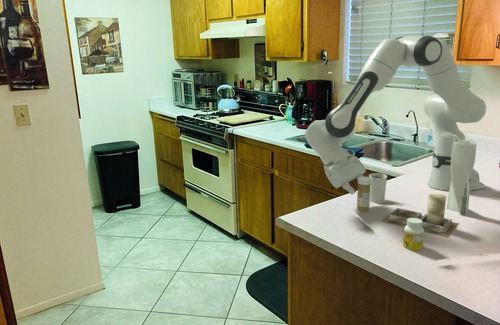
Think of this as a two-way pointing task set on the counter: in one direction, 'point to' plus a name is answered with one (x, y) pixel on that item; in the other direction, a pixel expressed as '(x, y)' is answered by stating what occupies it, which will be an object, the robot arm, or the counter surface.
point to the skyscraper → (461, 174)
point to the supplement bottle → (413, 235)
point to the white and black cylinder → (377, 187)
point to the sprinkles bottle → (363, 194)
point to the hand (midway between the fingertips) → (360, 189)
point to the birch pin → (436, 209)
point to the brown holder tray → (401, 217)
